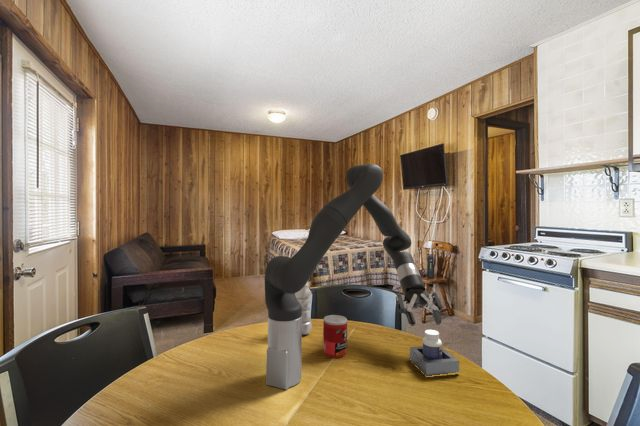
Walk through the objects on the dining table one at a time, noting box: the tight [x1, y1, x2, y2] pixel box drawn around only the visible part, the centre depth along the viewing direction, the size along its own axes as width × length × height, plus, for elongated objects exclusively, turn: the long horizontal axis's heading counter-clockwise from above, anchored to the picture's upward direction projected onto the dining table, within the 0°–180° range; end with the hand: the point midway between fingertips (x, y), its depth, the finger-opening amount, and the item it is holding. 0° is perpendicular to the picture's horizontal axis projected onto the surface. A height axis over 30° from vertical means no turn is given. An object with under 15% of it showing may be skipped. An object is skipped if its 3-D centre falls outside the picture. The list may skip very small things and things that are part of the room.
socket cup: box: [409, 345, 460, 376], centre depth 88 cm, size 10×10×4 cm
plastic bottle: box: [294, 281, 313, 336], centre depth 112 cm, size 6×7×20 cm
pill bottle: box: [422, 329, 443, 360], centre depth 88 cm, size 5×5×10 cm
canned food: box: [322, 314, 348, 359], centre depth 97 cm, size 8×8×11 cm
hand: (426, 324), depth 92 cm, fingers open, 8 cm apart
